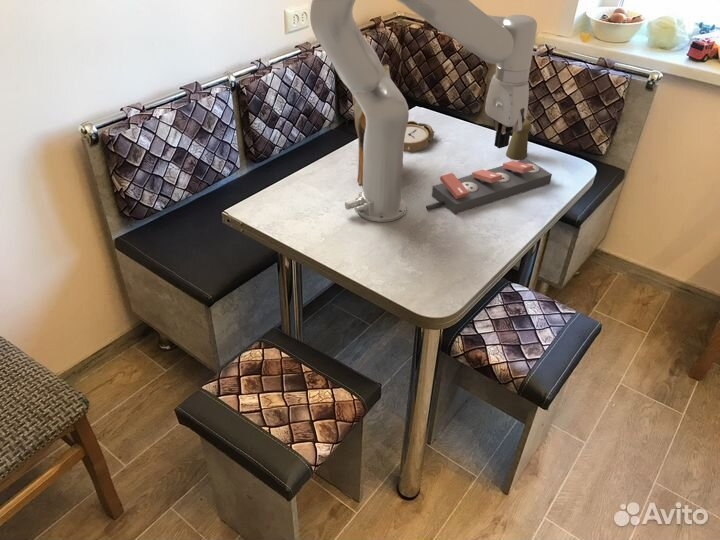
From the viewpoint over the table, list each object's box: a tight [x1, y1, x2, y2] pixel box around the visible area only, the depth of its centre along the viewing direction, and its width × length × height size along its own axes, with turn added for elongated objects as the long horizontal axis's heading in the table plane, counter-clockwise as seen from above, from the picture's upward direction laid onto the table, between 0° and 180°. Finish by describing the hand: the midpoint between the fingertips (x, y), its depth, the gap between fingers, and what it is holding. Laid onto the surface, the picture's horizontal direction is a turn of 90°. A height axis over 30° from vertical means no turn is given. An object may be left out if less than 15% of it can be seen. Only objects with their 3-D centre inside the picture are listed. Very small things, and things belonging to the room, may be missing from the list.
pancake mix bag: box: [351, 63, 392, 185], centre depth 162 cm, size 7×19×28 cm, turn 143°
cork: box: [505, 118, 532, 161], centre depth 177 cm, size 6×6×11 cm
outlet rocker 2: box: [471, 169, 502, 183], centre depth 161 cm, size 4×8×2 cm, turn 30°
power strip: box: [425, 158, 553, 215], centre depth 162 cm, size 37×10×3 cm, turn 120°
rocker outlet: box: [502, 160, 533, 173], centre depth 165 cm, size 4×8×2 cm, turn 30°
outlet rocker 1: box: [439, 172, 469, 199], centre depth 157 cm, size 4×8×2 cm, turn 30°
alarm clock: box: [403, 120, 436, 153], centre depth 185 cm, size 11×5×15 cm
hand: (501, 145), depth 153 cm, fingers closed
